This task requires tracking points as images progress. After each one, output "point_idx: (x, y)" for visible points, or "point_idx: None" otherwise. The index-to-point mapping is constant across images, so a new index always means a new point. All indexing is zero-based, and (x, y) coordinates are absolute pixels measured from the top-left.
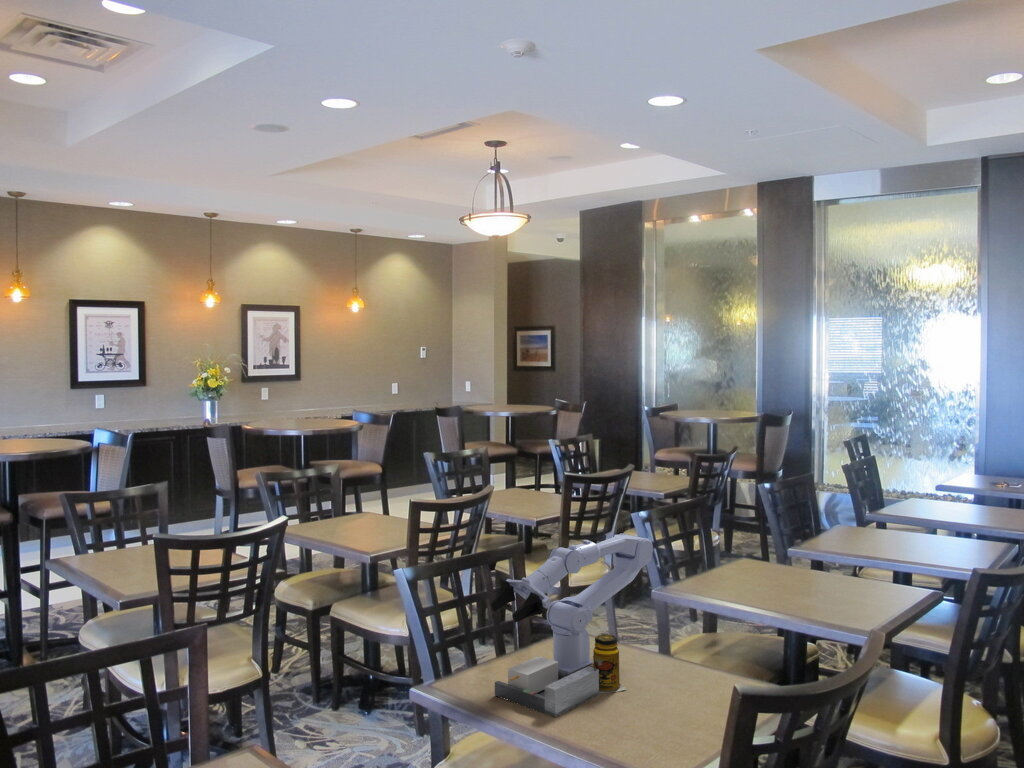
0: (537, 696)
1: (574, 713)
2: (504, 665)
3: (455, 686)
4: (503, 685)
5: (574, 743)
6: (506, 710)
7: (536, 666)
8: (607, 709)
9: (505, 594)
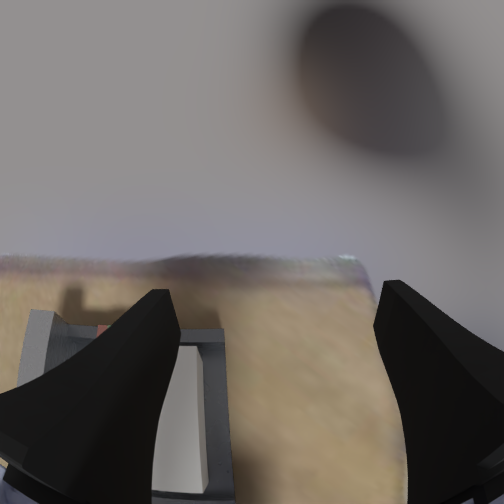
0: (86, 327)
1: None
2: (362, 481)
3: (332, 316)
4: (191, 329)
5: (13, 278)
6: None
7: None
8: None
9: (442, 401)
